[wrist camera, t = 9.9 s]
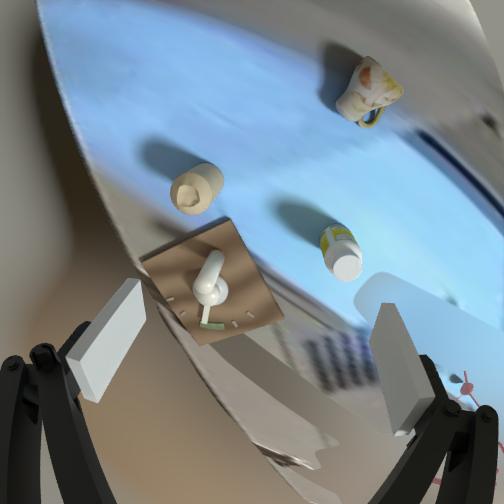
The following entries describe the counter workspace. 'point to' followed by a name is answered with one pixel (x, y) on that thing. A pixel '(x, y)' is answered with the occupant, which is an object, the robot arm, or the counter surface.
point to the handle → (211, 283)
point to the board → (233, 271)
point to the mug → (368, 92)
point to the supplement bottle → (341, 252)
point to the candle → (196, 188)
